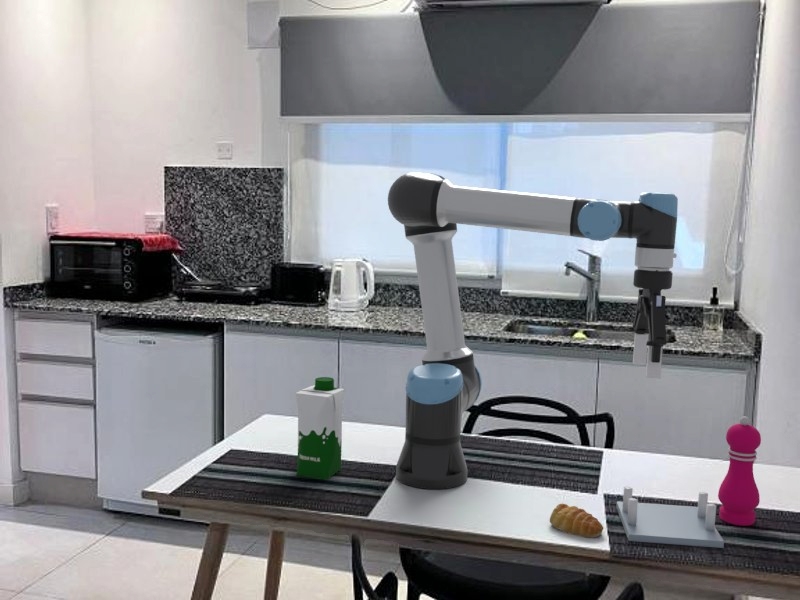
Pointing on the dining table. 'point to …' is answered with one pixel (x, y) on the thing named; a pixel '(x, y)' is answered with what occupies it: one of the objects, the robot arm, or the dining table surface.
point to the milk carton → (319, 429)
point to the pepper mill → (740, 475)
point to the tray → (669, 522)
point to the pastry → (575, 521)
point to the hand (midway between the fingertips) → (645, 370)
